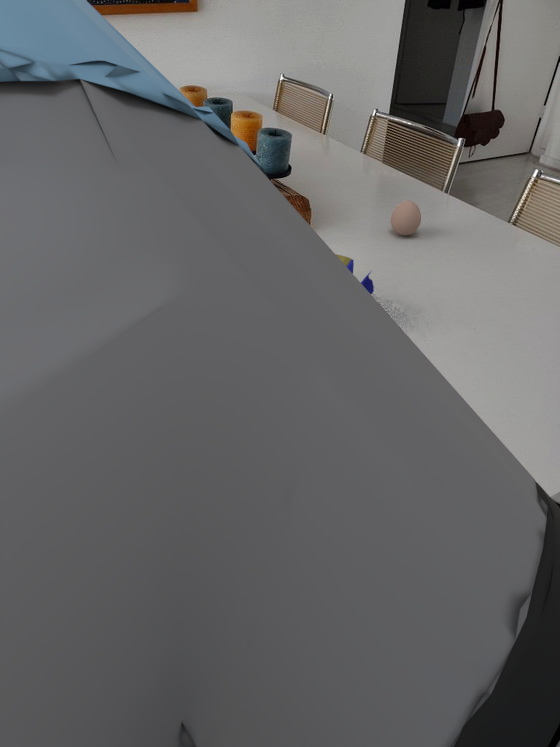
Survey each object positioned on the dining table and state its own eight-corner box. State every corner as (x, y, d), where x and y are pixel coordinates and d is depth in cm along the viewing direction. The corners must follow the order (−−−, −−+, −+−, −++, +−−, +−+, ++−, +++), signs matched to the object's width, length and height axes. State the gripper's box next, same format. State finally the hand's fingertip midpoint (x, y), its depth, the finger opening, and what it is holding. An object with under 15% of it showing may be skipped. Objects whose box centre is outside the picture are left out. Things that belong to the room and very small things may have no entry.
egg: (420, 241, 131) (426, 207, 126) (390, 240, 131) (396, 206, 126) (415, 229, 137) (421, 196, 131) (386, 228, 137) (391, 195, 131)
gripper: (-32, 875, 15) (96, 629, 36) (710, 689, 20) (443, 565, 40) (-48, 601, 16) (86, 515, 37) (667, 481, 21) (427, 464, 41)
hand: (273, 541), depth 39 cm, fingers open, 13 cm apart
